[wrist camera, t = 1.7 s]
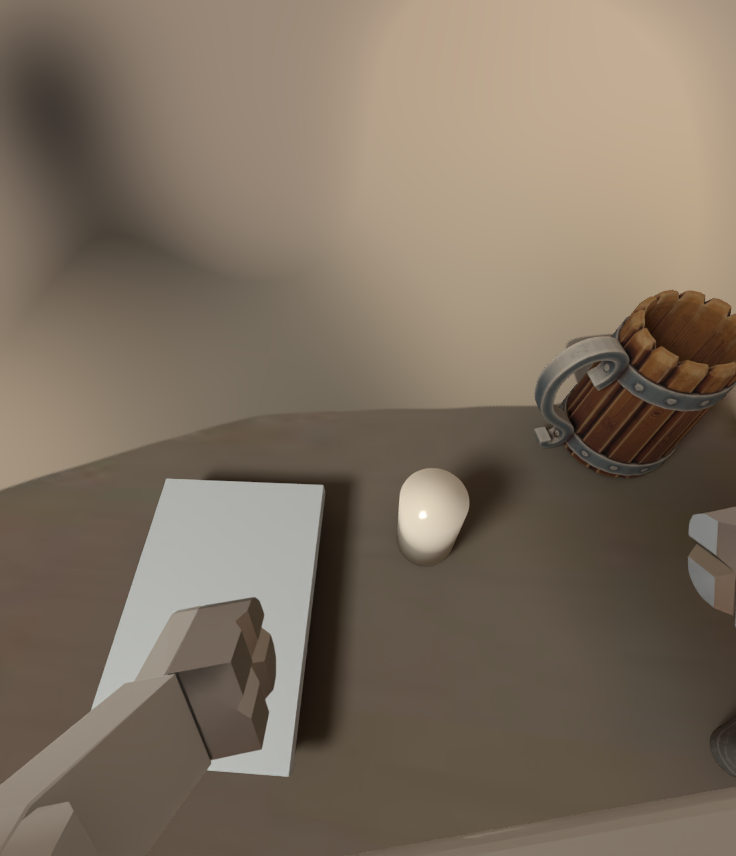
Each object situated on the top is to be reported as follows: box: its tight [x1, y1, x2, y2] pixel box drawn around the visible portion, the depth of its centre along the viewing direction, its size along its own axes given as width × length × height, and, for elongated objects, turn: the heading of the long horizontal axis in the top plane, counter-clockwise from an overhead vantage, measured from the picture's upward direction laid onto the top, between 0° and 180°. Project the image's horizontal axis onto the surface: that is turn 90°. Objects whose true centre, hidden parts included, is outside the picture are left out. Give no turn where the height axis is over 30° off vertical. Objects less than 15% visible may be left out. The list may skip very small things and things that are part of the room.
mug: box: [534, 290, 736, 478], centre depth 38 cm, size 16×11×15 cm
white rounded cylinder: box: [397, 468, 469, 567], centre depth 36 cm, size 5×5×9 cm
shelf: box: [91, 479, 325, 777], centre depth 35 cm, size 20×14×4 cm
